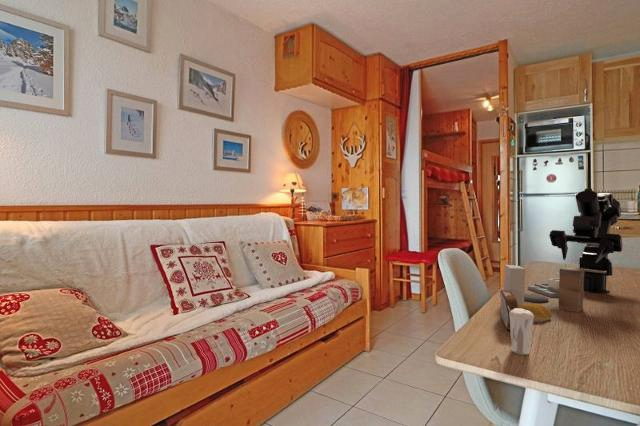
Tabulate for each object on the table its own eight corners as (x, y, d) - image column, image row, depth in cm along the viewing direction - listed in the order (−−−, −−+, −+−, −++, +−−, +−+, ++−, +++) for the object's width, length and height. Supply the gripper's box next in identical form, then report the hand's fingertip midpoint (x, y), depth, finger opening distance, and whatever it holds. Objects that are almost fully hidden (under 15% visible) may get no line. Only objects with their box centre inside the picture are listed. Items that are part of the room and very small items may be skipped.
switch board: (557, 288, 135) (557, 282, 135) (582, 296, 124) (582, 290, 124) (527, 289, 133) (527, 283, 133) (550, 297, 123) (550, 291, 123)
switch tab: (557, 288, 130) (558, 276, 130) (567, 290, 126) (567, 279, 126) (547, 288, 129) (548, 277, 129) (556, 291, 125) (556, 279, 125)
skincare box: (524, 308, 109) (525, 268, 109) (509, 307, 110) (510, 268, 110) (517, 303, 115) (519, 265, 115) (503, 302, 116) (504, 264, 115)
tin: (520, 336, 87) (521, 301, 87) (505, 334, 88) (506, 299, 88) (510, 317, 101) (511, 287, 101) (498, 315, 102) (499, 285, 102)
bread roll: (555, 319, 101) (556, 304, 100) (539, 325, 96) (540, 309, 95) (524, 311, 107) (525, 297, 107) (508, 316, 102) (508, 302, 102)
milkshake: (500, 348, 80) (501, 302, 79) (523, 347, 80) (524, 302, 80) (512, 357, 75) (514, 309, 75) (537, 356, 76) (539, 308, 75)
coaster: (534, 295, 125) (534, 293, 125) (555, 302, 116) (555, 300, 116) (510, 295, 124) (510, 294, 124) (529, 303, 115) (529, 301, 115)
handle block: (562, 305, 113) (564, 266, 113) (582, 308, 110) (584, 269, 109) (558, 308, 110) (559, 268, 109) (578, 312, 106) (580, 271, 106)
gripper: (551, 206, 124) (540, 241, 117) (622, 207, 111) (614, 247, 104) (557, 228, 130) (547, 262, 123) (625, 232, 116) (618, 271, 109)
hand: (579, 260), depth 115 cm, fingers open, 8 cm apart
